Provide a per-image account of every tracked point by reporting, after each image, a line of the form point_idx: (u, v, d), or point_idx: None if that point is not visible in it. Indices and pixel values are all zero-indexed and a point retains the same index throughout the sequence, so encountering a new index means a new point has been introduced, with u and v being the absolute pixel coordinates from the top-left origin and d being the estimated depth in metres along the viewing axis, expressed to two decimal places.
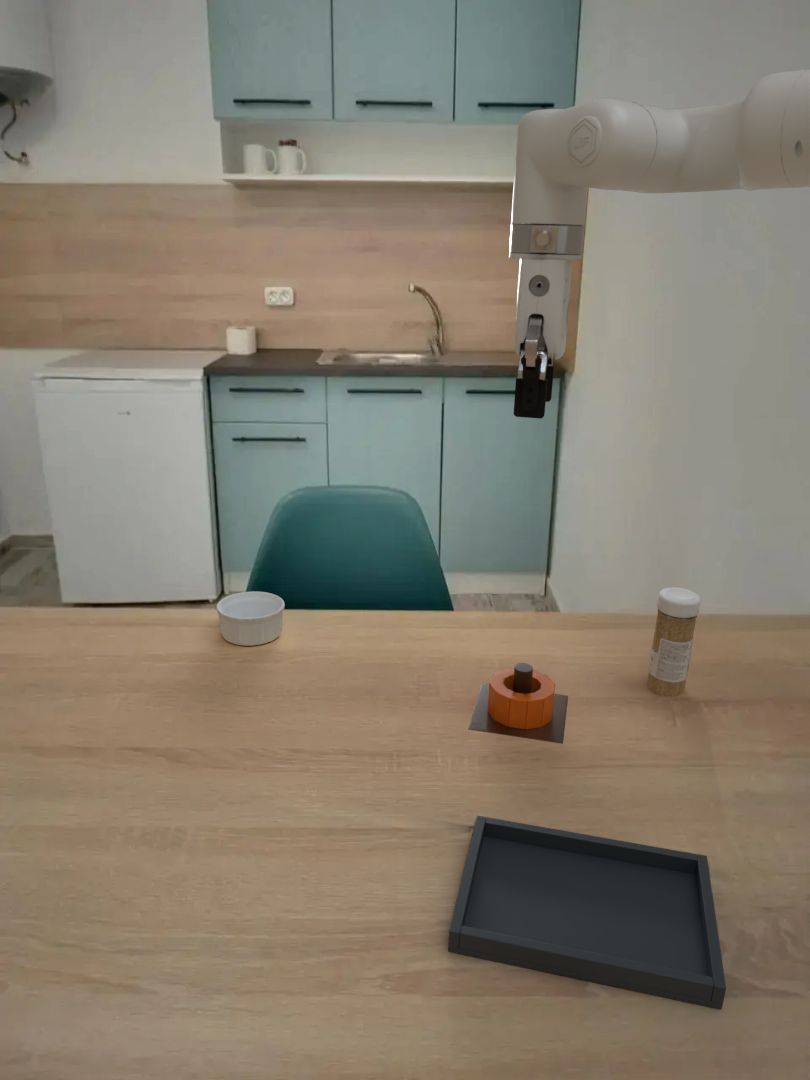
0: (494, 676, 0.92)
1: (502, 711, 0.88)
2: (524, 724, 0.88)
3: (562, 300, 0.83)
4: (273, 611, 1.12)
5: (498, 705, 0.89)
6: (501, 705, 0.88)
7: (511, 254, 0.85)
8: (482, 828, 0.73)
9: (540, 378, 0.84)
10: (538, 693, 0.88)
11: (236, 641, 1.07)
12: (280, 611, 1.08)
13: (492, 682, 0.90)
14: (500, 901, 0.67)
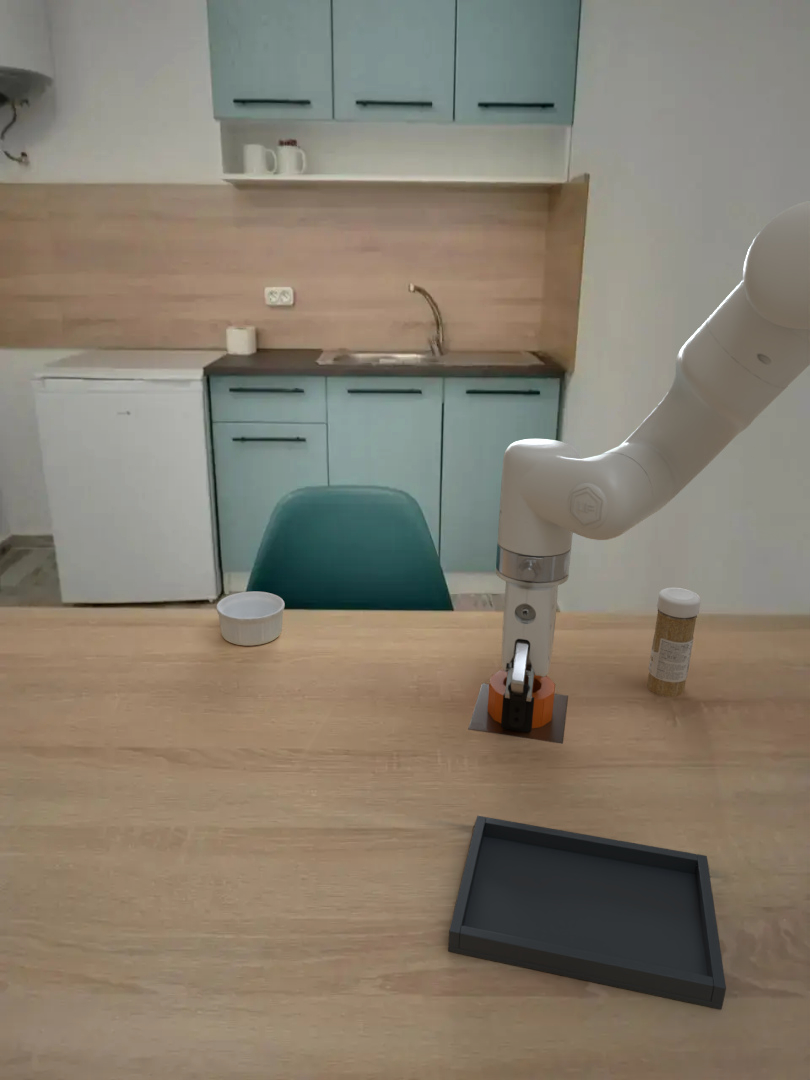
0: (494, 676, 0.92)
1: None
2: None
3: (548, 627, 0.82)
4: (273, 611, 1.12)
5: (498, 705, 0.89)
6: (501, 705, 0.88)
7: (497, 572, 0.85)
8: (482, 828, 0.73)
9: (527, 701, 0.85)
10: (538, 693, 0.88)
11: (236, 641, 1.07)
12: (280, 611, 1.08)
13: (492, 682, 0.90)
14: (500, 901, 0.67)
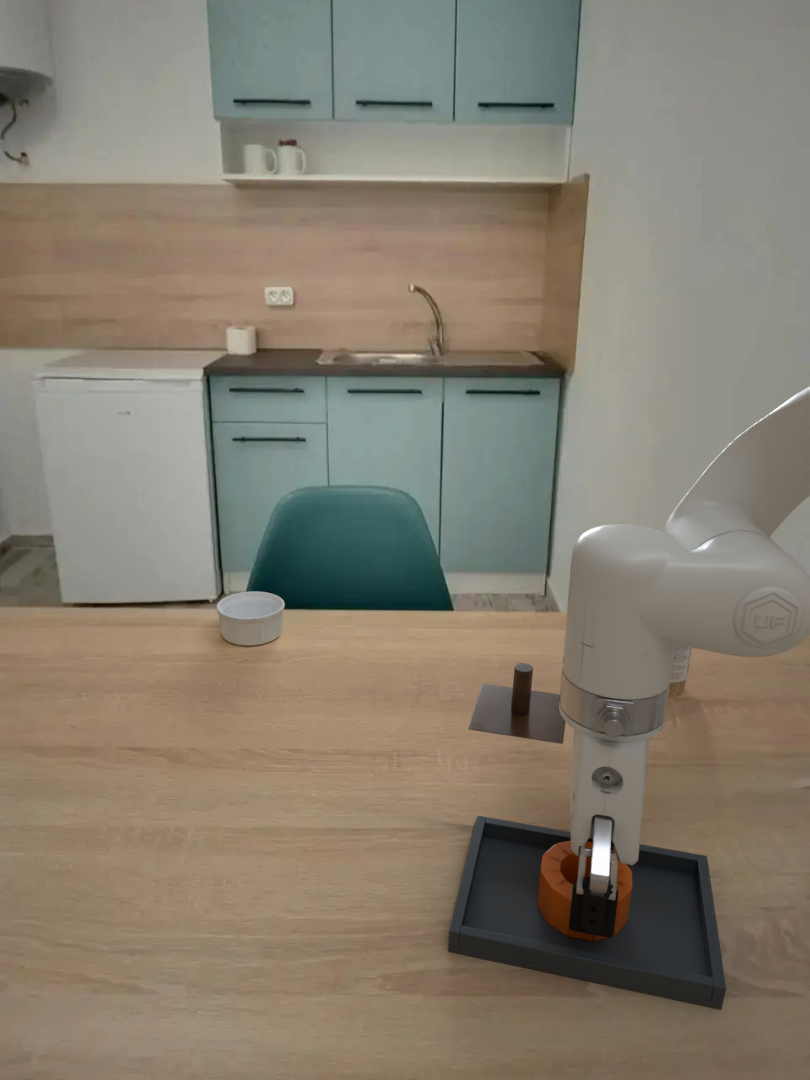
0: (546, 857, 0.67)
1: (560, 915, 0.63)
2: None
3: (641, 799, 0.57)
4: (273, 611, 1.12)
5: (554, 905, 0.64)
6: (559, 906, 0.63)
7: (564, 715, 0.59)
8: (482, 828, 0.73)
9: (609, 899, 0.58)
10: None
11: (236, 641, 1.07)
12: (280, 611, 1.08)
13: (544, 868, 0.65)
14: (500, 901, 0.67)
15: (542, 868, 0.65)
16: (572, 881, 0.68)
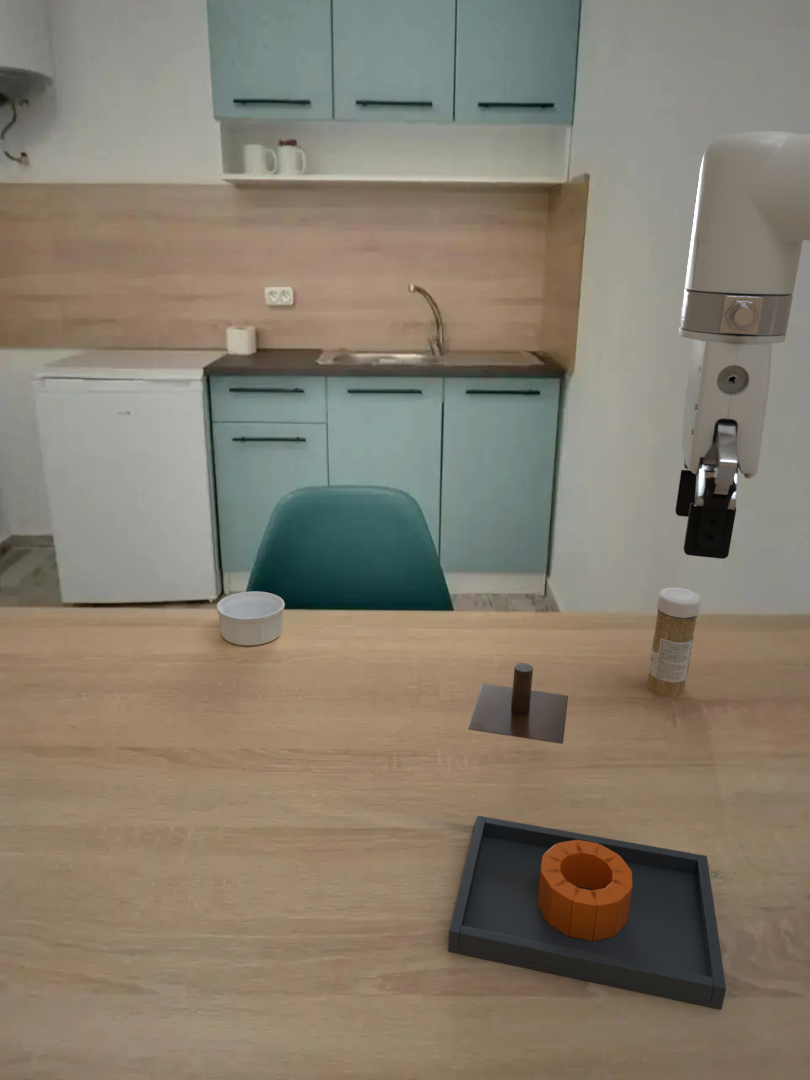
0: (546, 857, 0.67)
1: (560, 915, 0.63)
2: (591, 934, 0.63)
3: (765, 400, 0.59)
4: (273, 611, 1.12)
5: (554, 905, 0.64)
6: (559, 906, 0.63)
7: (686, 332, 0.61)
8: (482, 828, 0.73)
9: (729, 507, 0.60)
10: (610, 890, 0.63)
11: (236, 641, 1.07)
12: (280, 611, 1.08)
13: (544, 868, 0.65)
14: (500, 901, 0.67)
15: (542, 868, 0.65)
16: (572, 881, 0.68)
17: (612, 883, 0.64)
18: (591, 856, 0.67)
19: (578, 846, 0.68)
